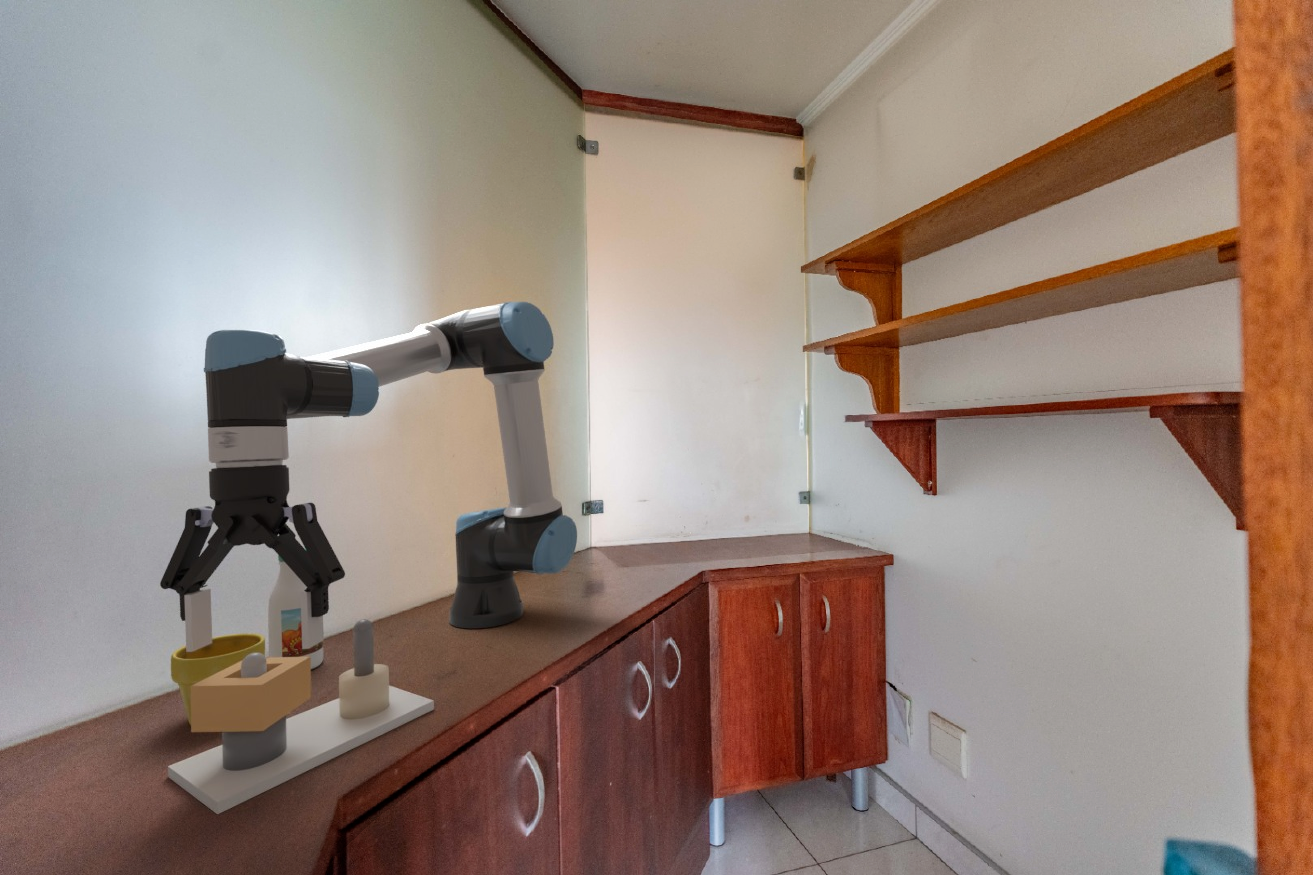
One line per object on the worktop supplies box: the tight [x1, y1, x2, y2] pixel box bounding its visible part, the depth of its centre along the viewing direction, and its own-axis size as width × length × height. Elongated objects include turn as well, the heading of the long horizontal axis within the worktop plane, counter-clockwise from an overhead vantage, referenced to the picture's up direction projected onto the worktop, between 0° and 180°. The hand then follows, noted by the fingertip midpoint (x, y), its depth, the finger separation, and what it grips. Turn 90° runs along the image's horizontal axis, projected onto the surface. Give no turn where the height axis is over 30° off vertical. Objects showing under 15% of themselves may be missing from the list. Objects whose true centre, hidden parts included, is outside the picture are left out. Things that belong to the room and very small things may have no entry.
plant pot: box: [170, 632, 266, 726], centre depth 77 cm, size 10×10×10 cm
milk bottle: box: [267, 547, 324, 670], centre depth 94 cm, size 8×8×20 cm
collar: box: [190, 656, 312, 733], centre depth 64 cm, size 8×8×5 cm
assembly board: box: [167, 618, 435, 815], centre depth 69 cm, size 25×13×13 cm, turn 148°
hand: (256, 646), depth 64 cm, fingers open, 13 cm apart
